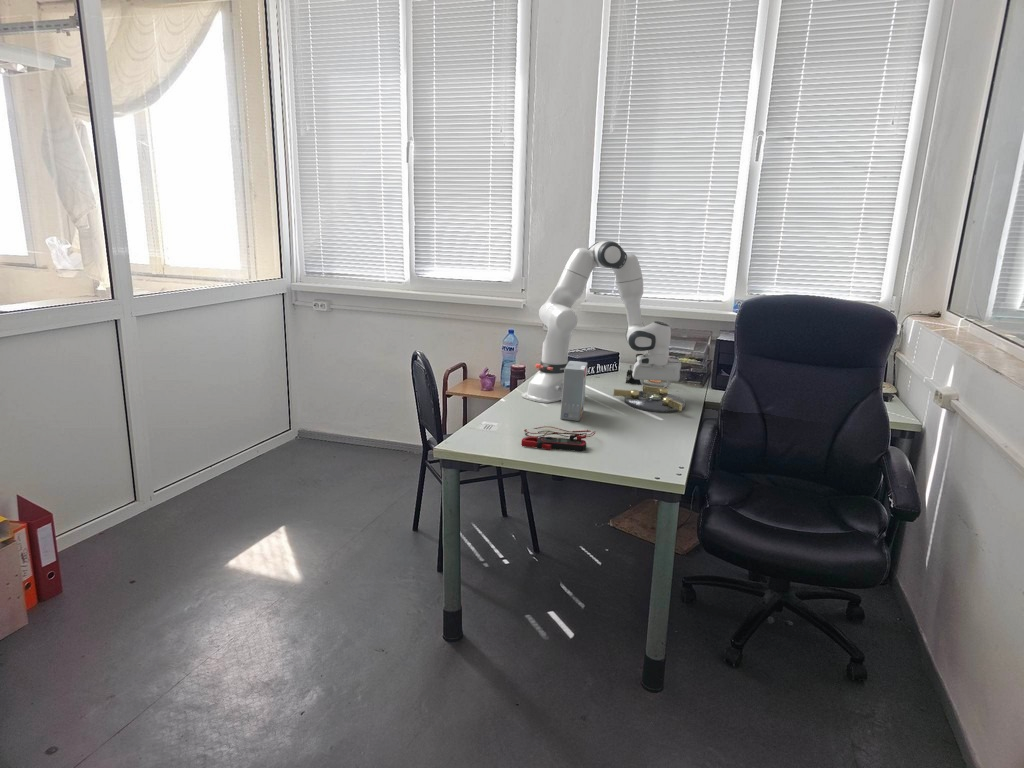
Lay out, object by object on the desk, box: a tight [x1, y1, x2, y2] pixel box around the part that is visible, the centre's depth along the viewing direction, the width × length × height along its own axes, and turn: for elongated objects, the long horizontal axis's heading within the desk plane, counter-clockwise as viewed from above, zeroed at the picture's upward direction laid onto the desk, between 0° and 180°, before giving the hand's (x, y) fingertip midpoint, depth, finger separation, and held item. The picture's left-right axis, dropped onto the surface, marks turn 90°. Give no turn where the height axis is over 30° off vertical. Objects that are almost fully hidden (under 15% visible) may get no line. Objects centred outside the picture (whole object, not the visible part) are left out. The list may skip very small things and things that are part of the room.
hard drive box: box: [559, 360, 588, 422], centre depth 245 cm, size 16×8×20 cm, turn 168°
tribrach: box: [624, 390, 686, 414], centre depth 267 cm, size 25×25×4 cm
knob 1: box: [612, 388, 640, 398], centre depth 268 cm, size 11×4×3 cm, turn 83°
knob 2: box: [663, 397, 683, 412], centre depth 256 cm, size 11×4×3 cm, turn 23°
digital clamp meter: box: [520, 426, 596, 452], centre depth 219 cm, size 23×4×25 cm
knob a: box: [642, 384, 669, 396], centre depth 275 cm, size 11×4×3 cm, turn 65°
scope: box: [625, 353, 645, 386], centre depth 298 cm, size 8×14×10 cm
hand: (654, 389), depth 278 cm, fingers open, 8 cm apart
